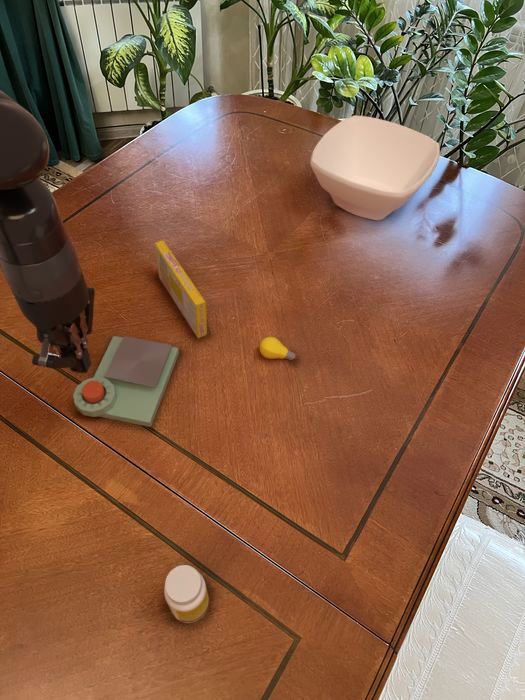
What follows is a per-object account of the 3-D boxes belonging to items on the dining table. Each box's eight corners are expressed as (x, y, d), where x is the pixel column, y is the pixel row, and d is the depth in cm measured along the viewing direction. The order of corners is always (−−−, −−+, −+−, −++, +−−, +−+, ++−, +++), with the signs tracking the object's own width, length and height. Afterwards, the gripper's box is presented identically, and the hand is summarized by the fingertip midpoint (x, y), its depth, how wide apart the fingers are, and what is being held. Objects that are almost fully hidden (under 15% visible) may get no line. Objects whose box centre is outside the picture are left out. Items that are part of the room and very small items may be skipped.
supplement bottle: (217, 597, 70) (213, 577, 63) (193, 632, 68) (186, 615, 61) (186, 574, 72) (179, 552, 65) (161, 607, 69) (152, 588, 62)
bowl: (394, 254, 107) (408, 204, 97) (291, 212, 114) (295, 162, 104) (438, 191, 118) (453, 141, 109) (342, 156, 125) (349, 106, 116)
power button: (100, 405, 83) (98, 399, 82) (80, 401, 83) (78, 395, 82) (108, 388, 85) (105, 382, 84) (89, 384, 85) (86, 378, 84)
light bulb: (257, 345, 93) (265, 329, 91) (291, 359, 94) (300, 343, 92) (254, 358, 91) (262, 341, 88) (289, 371, 91) (298, 355, 89)
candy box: (209, 334, 95) (206, 301, 88) (197, 339, 94) (193, 306, 87) (169, 273, 103) (163, 238, 96) (158, 277, 102) (151, 242, 96)
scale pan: (156, 387, 85) (155, 386, 84) (104, 377, 86) (104, 376, 85) (172, 345, 89) (172, 344, 89) (124, 336, 90) (123, 335, 90)
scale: (148, 432, 83) (145, 422, 81) (72, 417, 85) (66, 406, 82) (179, 352, 92) (177, 341, 90) (109, 339, 94) (105, 328, 91)
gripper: (38, 228, 65) (75, 325, 79) (-19, 313, 58) (32, 404, 71) (100, 238, 65) (126, 334, 78) (51, 325, 57) (89, 415, 71)
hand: (82, 367), depth 75 cm, fingers closed
